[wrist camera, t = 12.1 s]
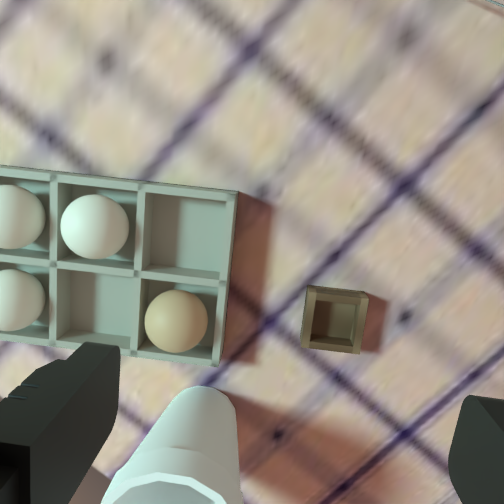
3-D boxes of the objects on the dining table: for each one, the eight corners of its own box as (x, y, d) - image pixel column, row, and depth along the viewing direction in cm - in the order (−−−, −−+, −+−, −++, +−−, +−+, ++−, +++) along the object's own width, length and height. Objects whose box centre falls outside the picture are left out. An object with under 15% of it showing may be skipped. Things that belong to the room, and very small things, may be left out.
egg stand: (307, 285, 36) (309, 291, 34) (364, 291, 36) (369, 299, 34) (300, 337, 37) (301, 347, 35) (355, 344, 37) (359, 354, 35)
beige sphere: (156, 278, 36) (137, 297, 31) (214, 285, 36) (204, 305, 31) (153, 333, 37) (134, 359, 33) (209, 340, 37) (199, 367, 32)
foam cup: (201, 479, 41) (167, 622, 28) (131, 413, 40) (64, 532, 27) (274, 419, 39) (273, 544, 26) (203, 350, 38) (166, 444, 25)
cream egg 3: (79, 188, 35) (47, 193, 30) (139, 195, 35) (117, 201, 30) (78, 248, 36) (47, 261, 31) (136, 255, 36) (114, 269, 31)
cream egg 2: (0, 259, 37) (-43, 274, 32) (57, 266, 37) (23, 282, 32) (1, 314, 38) (-40, 337, 33) (56, 321, 38) (23, 345, 33)
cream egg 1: (-2, 179, 35) (-47, 182, 30) (57, 186, 35) (22, 190, 30) (-1, 239, 36) (-44, 251, 31) (57, 245, 36) (23, 259, 31)
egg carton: (-12, 163, 36) (-37, 163, 33) (238, 191, 35) (235, 194, 32) (-8, 322, 39) (-31, 336, 36) (222, 351, 38) (218, 367, 35)
